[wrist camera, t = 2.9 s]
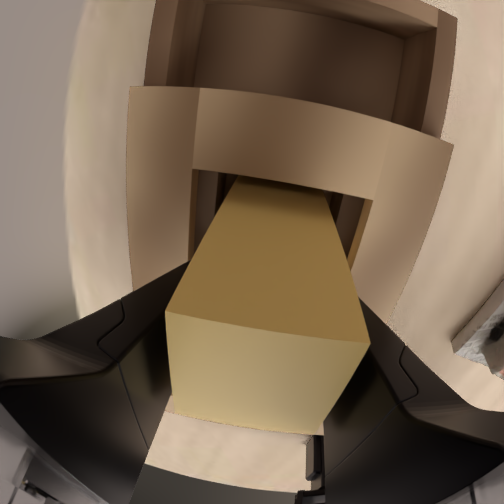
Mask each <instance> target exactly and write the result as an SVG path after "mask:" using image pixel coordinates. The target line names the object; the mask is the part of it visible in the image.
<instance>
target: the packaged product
mask: <svg viewBox="0 0 504 504" xmlns="http://www.w3.org/2000/svg"><path fill="white" fill-rule="evenodd" d="M451 343H452V347H453V352H454V354H456V355H459V356H461V357H463V358H466V359H469V360H471V361H474V362H477V363H481V364H483V365H485V366H488V367H489V369H490V371H491V373H492V374H495V375H496V376H498V377H500V378H501V379H503V380H504V280H503V281H502V282H501V283H500V285H499V286H498V287H497V289H496V290H495V291H494V293H493V294H492V295H491V296H490V298H489V299H488V300H487V301H486V303H485V304H484V305H483V306H482V307H481V309H480V310H479V311H478V312H477V313H476V314H475V316H474V317H473V318H472V319H471V320H470V321H469V323H468V324H467V325H466V326H465V327H464V328H463V329H462V330H461V331H460V332H459V334H458V335H457V336H456V337H455V338H454V339H453V340H452V342H451Z"/></svg>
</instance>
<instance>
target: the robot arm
mask: <svg viewBox="0 0 504 504" xmlns="http://www.w3.org/2000/svg"><path fill="white" fill-rule="evenodd" d="M191 260H192V259H191ZM191 260H189V261H187V262H185V263H184V264H182V265H180V266H178V267H176V268H174V269H173V270H171V271H169V272H167V273H165V274H164V275H162V276H160V277H158V278H156V279H154V280H153V281H151V282H149V283H147V284H145V285H144V286H142V287H140V288H138V289H136V290H135V291H133V292H131V293H129V294H128V295H126V296H124V297H122V298H121V300H120V299H119V300H117V301H115V302H113V303H111V304H110V305H108V306H106V307H104V308H102V309H100V310H98V311H96V312H95V313H92V314H90V315H88V316H86V317H84V318H82V319H80V320H78V321H76V322H73V323H71V324H69V325H66V326H64V327H62V328H60V329H58V330H55V331H53V332H51V333H49V334H46V335H44V336H42V337H39V338H36V339H30V340H19V339H13V338H7V337H2V336H0V504H129V501H130V499H131V496H132V494H133V491H134V488H135V486H136V483H137V480H138V478H139V475H140V473H141V470H142V467H143V465H144V462H145V460H146V457H147V454H148V452H149V451H148V450H149V449H150V446H151V444H152V441H153V439H154V436H155V434H156V431H157V428H158V426H159V423H160V421H161V418H162V416H163V413H164V411H165V408H166V406H167V403H168V401H169V398H170V396H171V393H172V386H171V377H170V368H169V357H168V346H167V334H166V320H165V310H166V308H167V306H168V304H169V302H170V300H171V298H172V296H173V294H174V292H175V290H176V288H177V286H178V284H179V282H180V281H181V279H182V277H183V275H184V273H185V271H186V269H187V267H188V265H189V263H190V261H191ZM358 298H359V297H358ZM359 302H360V305H361V309H362V313H363V316H364V320H365V324H366V327H367V331H368V335H369V339H370V343H371V344H370V346H369V347H368V349H367V351H366V353H365V355H364V356H363V358H362V360H361V362H360V364H359V365H358V367H357V369H356V370H355V372H354V374H353V376H352V377H351V379H350V381H349V382H348V384H347V385H346V387H345V389H344V390H343V392H342V394H341V395H340V397H339V398H338V400H337V401H336V403H335V405H334V406H333V408H332V409H331V411H330V412H329V414H328V415H327V417H326V418H325V420H324V421H323V430H324V435H313V437H312V438H311V439H310V441H309V442H308V443H307V445H306V479H307V481H311V490H310V491H305V490H300V491H298V494H297V495H295V504H504V412H497V411H488V410H482V409H478V408H476V407H474V406H472V405H470V404H469V403H467V402H466V401H465V400H464V399H462V398H461V397H460V396H459V395H458V394H457V393H456V392H455V391H454V390H453V389H451V388H450V387H449V386H448V385H447V384H446V383H445V382H444V381H443V380H442V379H440V378H439V377H438V376H437V375H436V374H435V373H434V372H433V371H432V370H431V369H430V368H429V367H427V366H426V365H425V364H424V363H423V362H422V361H421V360H420V359H419V358H418V357H417V356H416V355H415V354H414V353H413V352H412V351H411V349H410V348H409V347H408V346H405V343H404V342H403V341H402V340H401V339H400V338H399V337H398V336H397V335H396V334H395V333H394V332H393V331H392V330H391V329H390V328H389V327H388V326H387V325H386V324H385V323H384V322H383V321H382V320H381V319H380V318H379V317H378V316H377V315H376V314H375V313H374V312H373V311H372V310H371V309H370V308H369V307H368V306H367V305H366V304H365V303H364V302H363V301H362V300H361V299H360V298H359Z"/></svg>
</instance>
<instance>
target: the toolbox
mask: <svg viewBox="0 0 504 504" xmlns="http://www.w3.org/2000/svg"><path fill="white" fill-rule="evenodd" d="M456 33H457V18H456V17H454V16H452V15H450V14H448V13H446V12H444V11H442V10H440V9H438V8H436V7H433V6H431V5H429V4H427V3H424V2H422V1H420V0H156V4H155V9H154V14H153V20H152V26H151V32H150V39H149V46H148V53H147V61H146V69H145V79H144V86H172V87H197V88H212V89H224V90H234V91H244V92H252V93H260V94H267V95H274V96H280V97H286V98H292V99H298V100H303V101H308V102H313V103H318V104H323V105H327V106H332V107H336V108H341V109H345V110H349V111H353V112H357V113H360V114H364V115H368V116H371V117H375V118H378V119H382V120H385V121H388V122H392V123H395V124H398V125H401V126H404V127H407V128H410V129H413V130H416V131H419V132H422V133H424V134H427V135H430V136H433V137H435V138H438V139H440V137H441V133H442V128H443V124H444V119H445V114H446V109H447V103H448V98H449V92H450V86H451V79H452V72H453V64H454V56H455V46H456ZM237 177H238V175H237V174H230V173H223V172H215V171H208V170H200V169H199V174H198V187H197V201H196V217H195V235H194V254H195V252H196V250H197V248H198V246H199V245H200V243H201V241H202V239H203V237H204V235H205V234H206V232H207V230H208V228H209V226H210V224H211V223H212V221H213V219H214V217H215V215H216V214H217V212H218V210H219V208H220V206H221V205H222V203H223V201H224V199H225V198H226V196H227V194H228V192H229V191H230V189H231V187H232V185H233V184H234V182H235V180H236V178H237ZM322 190H323V189H322ZM323 193H324V195H325V198H326V201H327V203H328V206H329V209H330V212H331V215H332V217H333V220H334V223H335V226H336V229H337V232H338V235H339V238H340V241H341V244H342V247H343V250H344V253H345V256H346V259H347V258H348V255H349V252H350V248H351V245H352V242H353V239H354V236H355V232H356V229H357V226H358V222H359V219H360V215H361V212H362V208H363V205H364V201H365V198H361V197H357V196H352V195H348V194H343V193H338V192H333V191H328V190H323Z"/></svg>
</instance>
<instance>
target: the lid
mask: <svg viewBox="0 0 504 504" xmlns="http://www.w3.org/2000/svg"><path fill="white" fill-rule="evenodd" d="M453 147H454V145H453V144H451V143H448V142H446V141H443V140H440V139H438V138H435V137H433V136H430V135H427V134H424V133H422V132H419V131H416V130H413V129H410V128H407V127H404V126H401V125H398V124H395V123H392V122H388V121H385V120H382V119H378V118H375V117H371V116H368V115H364V114H360V113H357V112H353V111H349V110H345V109H341V108H336V107H332V106H327V105H323V104H318V103H313V102H308V101H303V100H298V99H292V98H286V97H280V96H274V95H267V94H260V93H252V92H244V91H234V90H224V89H212V88H197V87H172V86H135V87H130V90H129V103H128V119H127V145H126V196H127V222H128V239H129V252H130V264H131V274H132V284H133V291H135V290H136V289H138V288H140V287H142V286H144V285H145V284H147V283H149V282H151V281H153V280H154V279H156V278H158V277H160V276H162V275H164V274H165V273H167V272H169V271H171V270H173V269H174V268H176V267H178V266H180V265H182V264H184V263H185V262H187V261H189V260H191V259H192V258H193V256H194V235H195V217H196V201H197V187H198V174H199V169H200V170H208V171H215V172H223V173H230V174H237V175H244V176H250V177H256V178H263V179H269V180H275V181H281V182H286V183H292V184H297V185H303V186H308V187H313V188H318V189H323V190H328V191H333V192H338V193H343V194H348V195H352V196H357V197H361V198H365V201H364V205H363V208H362V212H361V215H360V219H359V222H358V226H357V229H356V232H355V236H354V239H353V242H352V245H351V248H350V252H349V255H348V258H347V262H348V265H349V268H350V272H351V275H352V278H353V281H354V285H355V288H356V292H357V295H358V297H359V298H360V299H361V300H362V301H363V302H364V303H365V304H366V305H367V306H368V307H369V308H370V309H371V310H372V311H373V312H374V313H375V314H376V315H377V316H378V317H379V318H380V319H381V320H382V321H383V322H384V323H385V324H387V322H388V320H389V318H390V316H391V314H392V312H393V310H394V308H395V306H396V304H397V302H398V300H399V298H400V295H401V293H402V291H403V289H404V287H405V285H406V282H407V280H408V278H409V276H410V273H411V271H412V269H413V266H414V264H415V262H416V259H417V257H418V254H419V252H420V249H421V247H422V244H423V242H424V239H425V236H426V234H427V231H428V228H429V226H430V223H431V220H432V217H433V214H434V211H435V209H436V206H437V203H438V199H439V196H440V193H441V190H442V187H443V183H444V180H445V177H446V173H447V170H448V166H449V162H450V159H451V155H452V151H453ZM165 411H167V412H171V413H175V410H174V402H173V394H172V393H171V396H170V398H169V401H168V403H167V406H166V408H165ZM175 414H176V413H175ZM179 415H180V414H179ZM183 416H184V415H183ZM187 417H188V416H187ZM191 418H193V417H191ZM196 419H197V418H196ZM201 420H202V419H201ZM205 421H207V420H205ZM210 422H212V421H210ZM215 423H217V422H215ZM221 424H222V423H221ZM226 425H228V424H226ZM232 426H233V425H232ZM238 427H240V426H238ZM245 428H246V427H245ZM251 429H253V428H251ZM259 430H260V429H259ZM267 431H268V430H267ZM275 432H277V431H275ZM285 433H287V432H285ZM296 434H299V433H296ZM310 435H324V430H323V422H322V424H321V425H320V427H319V428H318V430H317V431H316V432H315V434H310Z"/></svg>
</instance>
